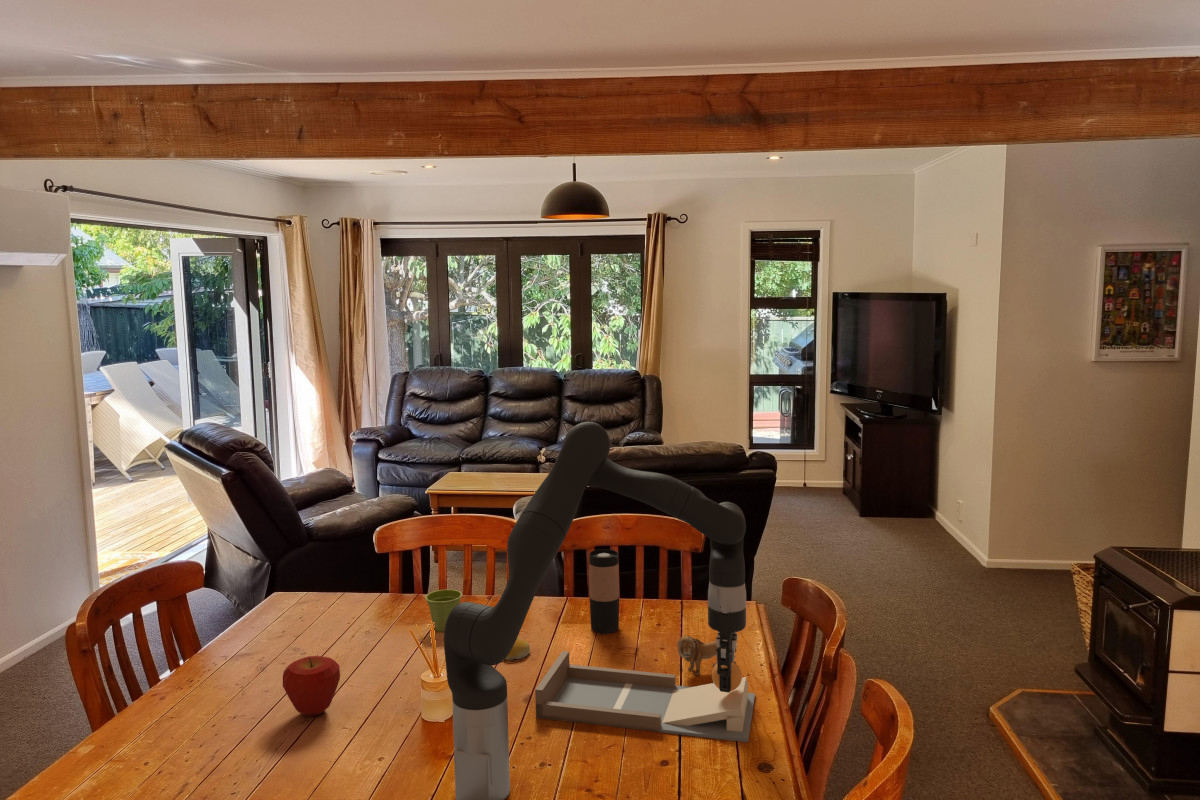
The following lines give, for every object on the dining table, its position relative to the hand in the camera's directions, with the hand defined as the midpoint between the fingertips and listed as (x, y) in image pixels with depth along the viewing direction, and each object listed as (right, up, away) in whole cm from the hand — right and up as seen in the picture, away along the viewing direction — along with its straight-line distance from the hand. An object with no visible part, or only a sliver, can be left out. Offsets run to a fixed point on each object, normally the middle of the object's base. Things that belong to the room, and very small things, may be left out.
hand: (726, 683), depth 166 cm
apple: (-85, -8, +4) cm, 85 cm away
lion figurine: (-1, -5, +21) cm, 21 cm away
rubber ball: (0, +2, 0) cm, 2 cm away
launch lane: (-16, -7, +5) cm, 18 cm away
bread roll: (-47, -4, +33) cm, 57 cm away
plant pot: (-66, -2, +49) cm, 82 cm away
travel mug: (-24, -2, +46) cm, 52 cm away
